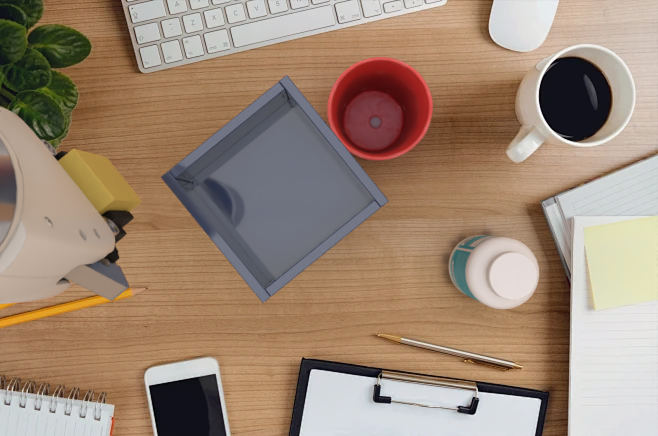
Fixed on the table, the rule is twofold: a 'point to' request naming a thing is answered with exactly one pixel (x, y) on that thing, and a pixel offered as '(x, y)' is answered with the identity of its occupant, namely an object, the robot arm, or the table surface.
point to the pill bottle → (494, 270)
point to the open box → (274, 189)
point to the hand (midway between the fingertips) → (92, 201)
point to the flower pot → (380, 108)
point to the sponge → (99, 181)
